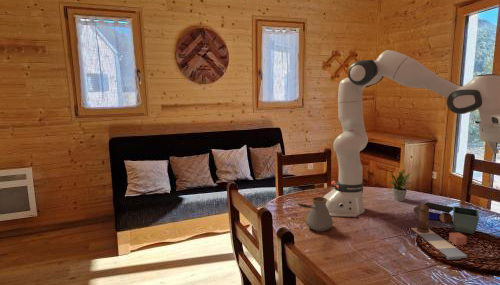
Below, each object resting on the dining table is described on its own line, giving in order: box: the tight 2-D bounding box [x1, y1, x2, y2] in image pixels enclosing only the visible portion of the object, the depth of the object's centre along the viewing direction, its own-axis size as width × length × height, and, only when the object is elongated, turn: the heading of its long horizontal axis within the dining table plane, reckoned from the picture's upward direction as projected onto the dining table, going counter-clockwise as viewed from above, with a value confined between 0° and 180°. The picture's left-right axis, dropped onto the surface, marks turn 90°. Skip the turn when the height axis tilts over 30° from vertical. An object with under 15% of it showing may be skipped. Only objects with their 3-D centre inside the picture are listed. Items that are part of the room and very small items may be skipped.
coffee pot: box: [295, 196, 334, 232], centre depth 140 cm, size 21×12×15 cm, turn 135°
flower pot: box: [452, 205, 480, 235], centre depth 136 cm, size 9×9×9 cm
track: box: [410, 227, 468, 261], centre depth 128 cm, size 7×24×1 cm, turn 4°
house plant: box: [388, 170, 413, 202], centre depth 174 cm, size 14×14×16 cm
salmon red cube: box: [448, 231, 468, 246], centre depth 126 cm, size 4×4×4 cm
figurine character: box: [413, 202, 454, 224], centre depth 149 cm, size 7×8×15 cm
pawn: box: [416, 205, 430, 233], centre depth 136 cm, size 4×4×11 cm
